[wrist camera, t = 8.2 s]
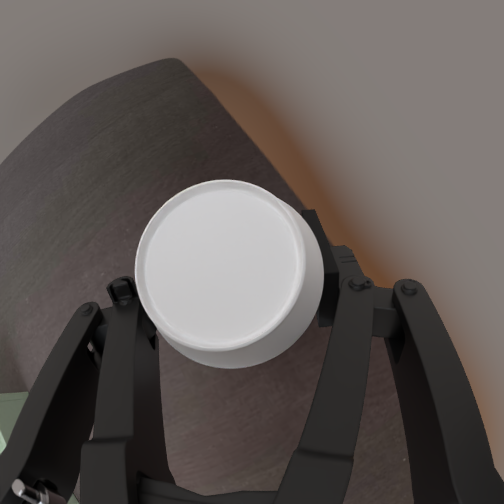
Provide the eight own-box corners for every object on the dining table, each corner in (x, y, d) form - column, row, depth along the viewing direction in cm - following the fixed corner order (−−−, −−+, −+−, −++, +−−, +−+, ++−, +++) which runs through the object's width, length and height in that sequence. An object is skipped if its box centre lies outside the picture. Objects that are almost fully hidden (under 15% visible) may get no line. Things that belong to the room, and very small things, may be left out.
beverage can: (278, 244, 20) (260, 130, 9) (323, 321, 18) (375, 303, 7) (200, 286, 20) (96, 224, 8) (240, 365, 18) (165, 409, 7)
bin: (95, 526, 15) (66, 546, 9) (23, 508, 15) (-1, 518, 9) (28, 391, 20) (-12, 394, 15) (-24, 404, 20) (-52, 404, 15)
